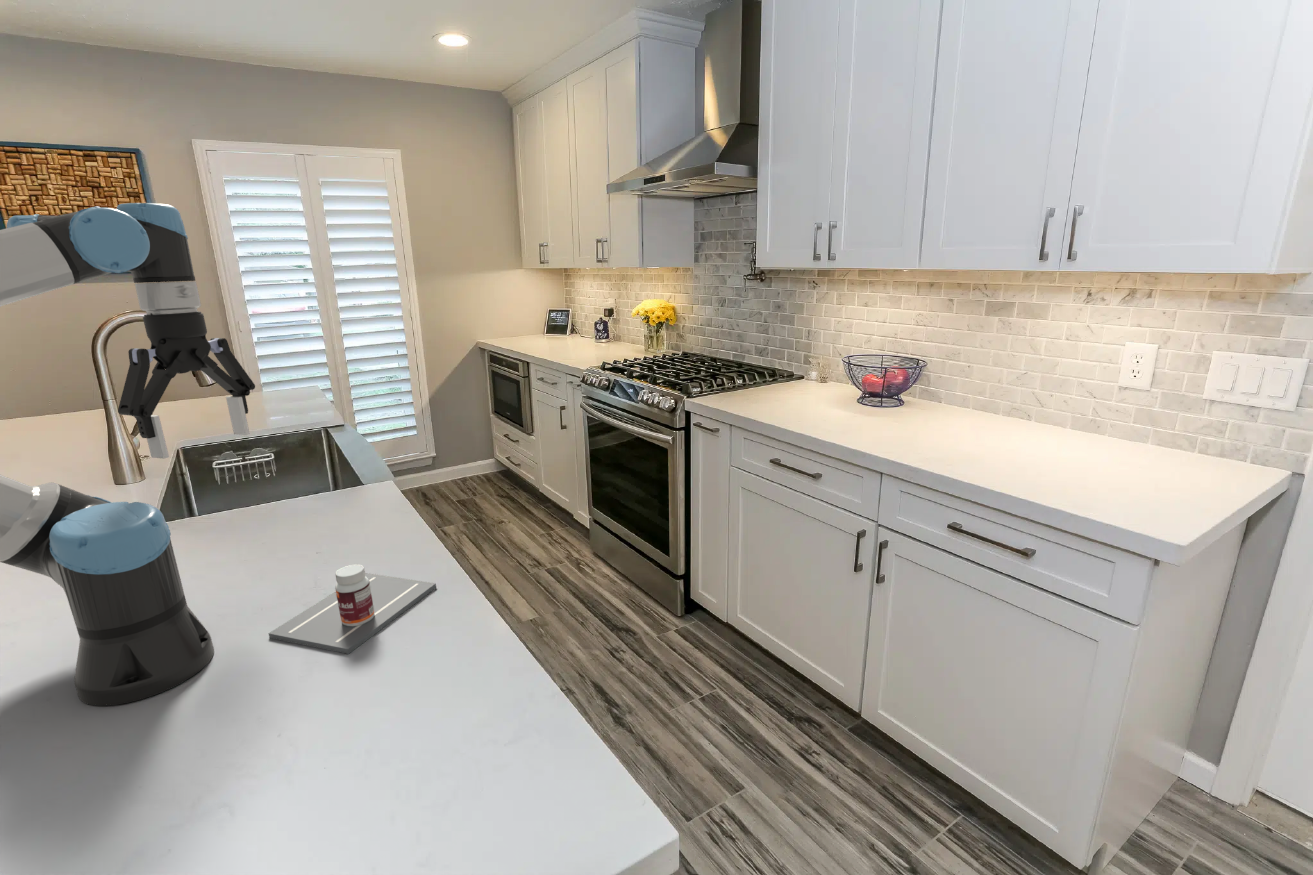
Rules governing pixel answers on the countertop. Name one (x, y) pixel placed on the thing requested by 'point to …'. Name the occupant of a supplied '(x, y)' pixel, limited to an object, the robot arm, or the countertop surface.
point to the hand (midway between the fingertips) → (203, 445)
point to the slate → (329, 633)
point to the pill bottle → (354, 595)
